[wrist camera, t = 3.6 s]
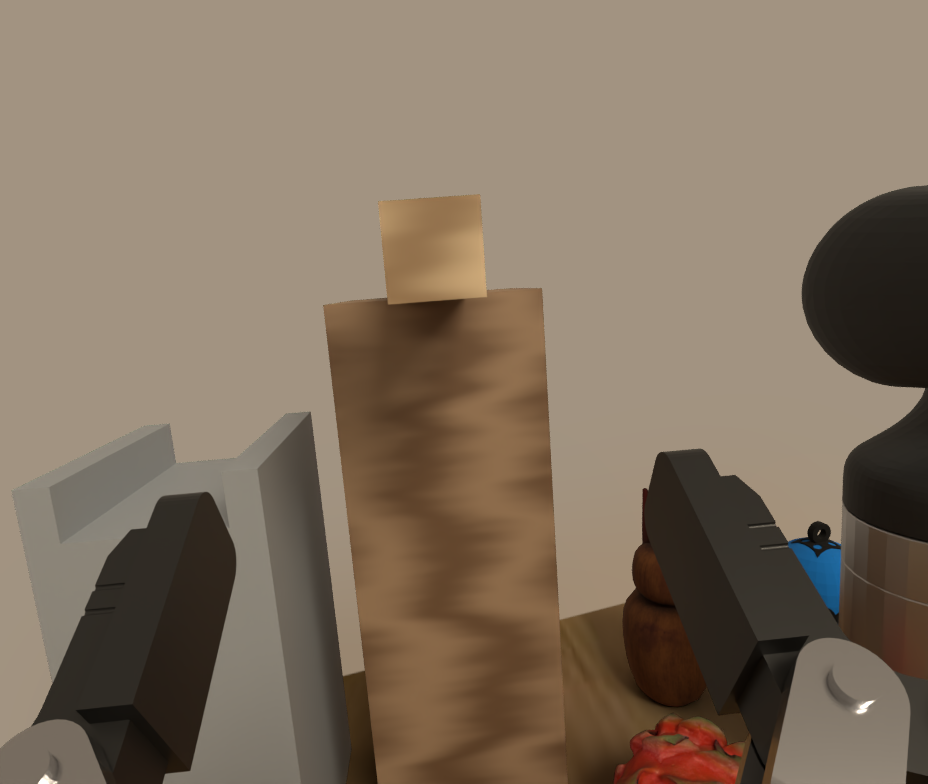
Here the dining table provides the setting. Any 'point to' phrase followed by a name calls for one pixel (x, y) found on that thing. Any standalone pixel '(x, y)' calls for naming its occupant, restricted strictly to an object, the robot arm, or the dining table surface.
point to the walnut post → (452, 534)
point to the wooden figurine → (658, 634)
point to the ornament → (821, 563)
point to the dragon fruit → (681, 754)
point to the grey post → (252, 600)
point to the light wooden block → (433, 249)
